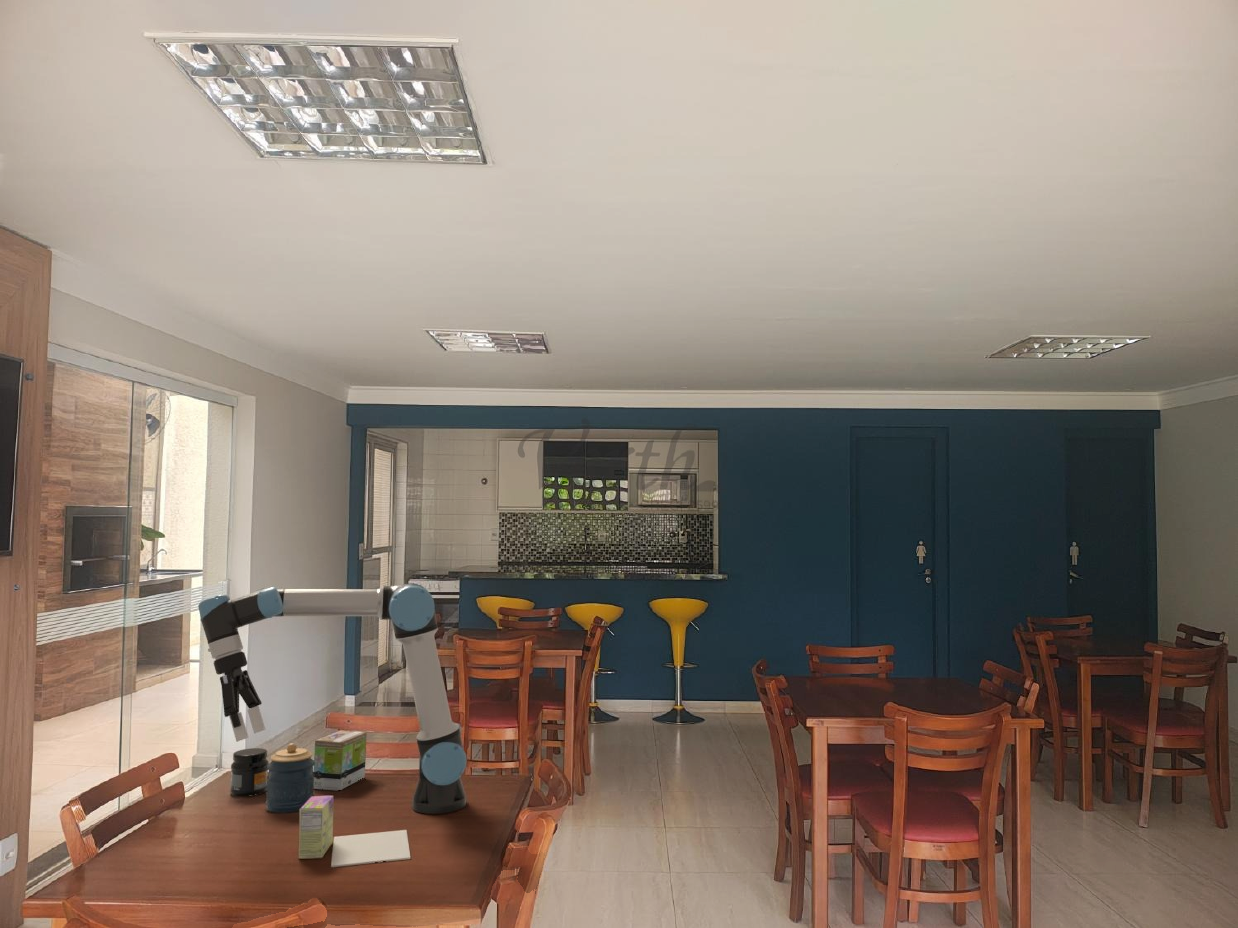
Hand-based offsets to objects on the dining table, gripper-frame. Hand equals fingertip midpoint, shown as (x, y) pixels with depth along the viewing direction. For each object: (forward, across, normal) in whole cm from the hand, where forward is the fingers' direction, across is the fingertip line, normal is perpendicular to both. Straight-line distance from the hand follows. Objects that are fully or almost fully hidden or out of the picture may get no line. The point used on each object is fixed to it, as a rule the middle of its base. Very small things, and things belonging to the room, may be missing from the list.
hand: (251, 735), depth 216 cm
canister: (+24, -31, -6) cm, 39 cm away
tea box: (+25, -53, +3) cm, 59 cm away
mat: (+36, +5, +21) cm, 42 cm away
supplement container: (+17, -46, -21) cm, 53 cm away
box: (+32, +6, +9) cm, 33 cm away
